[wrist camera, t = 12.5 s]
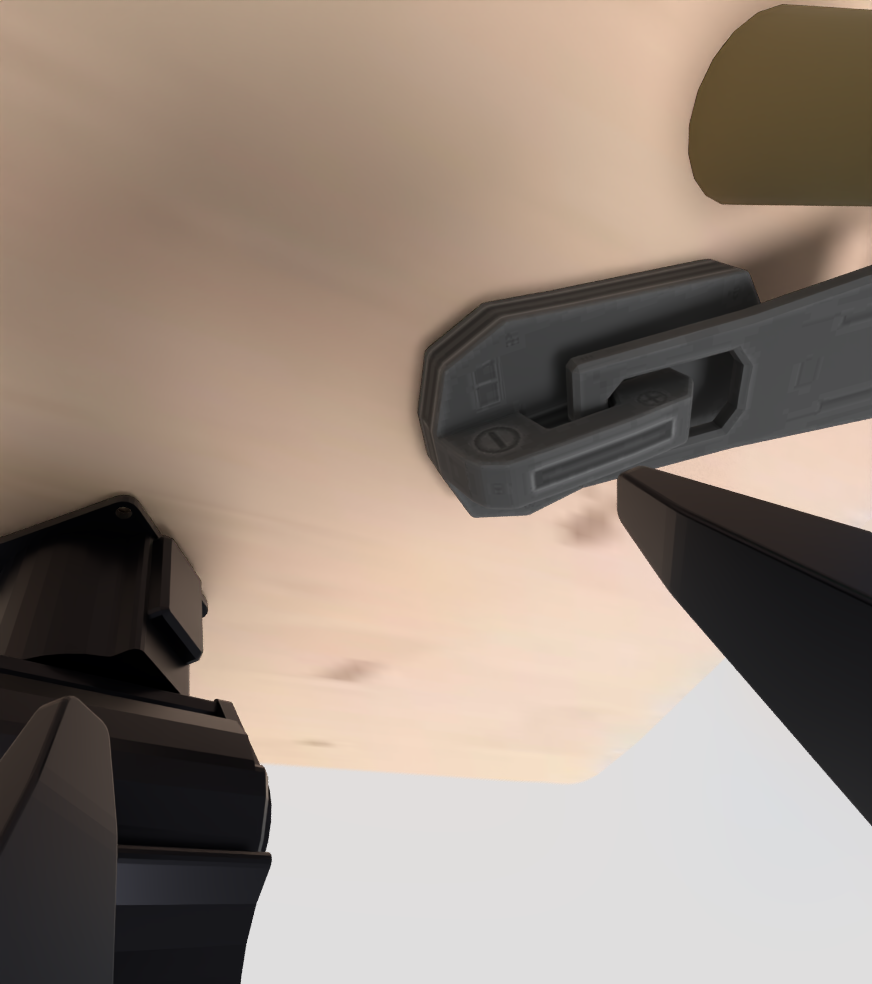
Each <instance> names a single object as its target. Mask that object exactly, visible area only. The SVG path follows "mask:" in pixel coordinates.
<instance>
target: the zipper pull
mask: <svg viewBox="0 0 872 984" xmlns="http://www.w3.org/2000/svg"><path fill="white" fill-rule="evenodd" d="M418 416H419V420H420V424H421V429H422V433H423V437H424V441H425V446H426V450H427V454H428V456H429V458H430V459H431V461H432V462H433V464H434V465H435V467H436V468H437V470H438V471H439V473H440V474H441V476H442V477H443V479H444V480H445V482H446V483H447V484H448V486H449V487H450V488H451V490H452V491H453V492H454V494H455V495H456V496H457V498H458V499H459V501H460V502H461V503H462V505H463V506H464V507H465V509H466V510H467V511H468V513H469V514H470V515H471V516H472V517H475V518H479V517H501V516H523V515H529V514H532V513H534V512H536V511H538V510H540V509H542V508H544V507H546V506H548V505H550V504H552V503H554V502H556V501H558V500H560V499H562V498H564V497H566V496H568V495H570V494H572V493H574V492H576V491H578V490H580V489H582V488H584V487H588V486H592V485H596V484H599V483H603V482H607V481H611V480H614V479H617V478H618V476H619V474H621V473H622V472H624V471H627V470H629V469H632V468H634V467H637V466H646V467H650V468H653V469H655V468H659V467H663V466H666V465H670V464H674V463H678V462H681V461H685V460H689V459H693V458H696V457H700V456H704V455H708V454H711V453H715V452H719V451H722V450H726V449H730V448H734V447H739V446H744V445H748V444H753V443H758V442H762V441H767V440H772V439H776V438H781V437H786V436H790V435H795V434H800V433H805V432H809V431H814V430H819V429H823V428H828V427H833V426H837V425H842V424H847V423H851V422H856V421H861V420H866V419H870V418H872V265H870V266H867V267H864V268H861V269H859V270H856V271H853V272H850V273H847V274H844V275H841V276H838V277H835V278H833V279H830V280H827V281H824V282H821V283H818V284H815V285H812V286H809V287H807V288H804V289H801V290H798V291H795V292H792V293H789V294H786V295H783V296H781V297H778V298H775V299H772V300H769V301H766V302H763V303H760V300H759V297H758V295H757V292H756V289H755V287H754V284H753V282H752V279H751V276H750V274H749V272H748V271H746V270H743V269H740V268H737V267H733V266H730V265H727V264H724V263H721V262H718V261H715V260H711V259H705V260H698V261H693V262H688V263H683V264H678V265H673V266H668V267H664V268H659V269H654V270H649V271H644V272H639V273H634V274H630V275H625V276H620V277H615V278H610V279H605V280H600V281H595V282H591V283H586V284H581V285H576V286H571V287H566V288H561V289H557V290H551V291H546V292H540V293H535V294H529V295H524V296H518V297H513V298H507V299H502V300H496V301H491V302H486V303H483V304H481V305H480V306H479V307H477V308H476V309H475V310H474V311H472V312H471V313H470V314H469V315H468V316H466V317H465V318H464V319H463V320H462V321H460V322H459V323H458V324H457V325H455V326H454V327H453V328H452V329H451V330H449V331H448V332H447V333H446V334H444V335H443V336H442V337H441V338H440V339H438V340H437V341H436V342H435V343H433V344H432V345H431V346H430V347H429V348H428V349H427V350H426V352H425V357H424V365H423V373H422V382H421V390H420V398H419V407H418Z"/></svg>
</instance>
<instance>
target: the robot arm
mask: <svg viewBox="0 0 872 984" xmlns="http://www.w3.org/2000/svg"><path fill="white" fill-rule="evenodd" d="M120 507H126V508H129V509H130V510H131V511H129V512H126V513H124V512H120V511H119V510H118V508H120ZM617 512H618V516H619V519H620V521H621V523H622V524H623V526H624V527H625V529H626V530H627V532H628V533H629V535H630V536H631V537H632V539H633V540H634V542H635V543H636V545H637V546H638V548H639V549H640V551H641V552H642V553H643V555H644V556H645V558H646V559H647V561H648V562H649V564H650V565H651V567H652V568H653V569H654V571H655V572H656V574H657V575H658V577H659V578H660V580H661V581H662V582H663V584H664V585H665V586H666V588H667V589H668V591H669V592H670V593H671V594H672V596H673V597H674V598H675V599H676V600H677V602H678V603H679V604H680V605H681V606H682V607H683V609H684V610H685V611H686V612H687V613H688V614H689V616H690V617H691V618H692V619H693V620H694V621H695V622H696V624H697V625H698V626H699V627H700V628H701V629H702V631H703V632H704V633H705V634H706V635H707V636H708V637H709V639H710V640H711V641H712V642H713V643H714V644H715V646H716V647H717V648H718V649H719V650H720V651H721V652H722V654H723V655H724V656H725V657H726V658H727V659H728V661H729V662H730V663H731V664H732V665H733V666H734V667H735V669H736V670H737V671H738V672H739V673H740V674H741V675H742V677H743V678H744V679H745V680H746V681H747V682H748V684H749V685H750V686H751V687H752V688H753V689H754V690H755V692H756V693H757V694H758V695H759V696H760V697H761V699H762V700H763V701H764V702H765V703H766V704H767V706H768V707H769V708H770V709H771V710H772V711H773V713H774V714H775V715H776V716H777V717H778V718H779V719H780V720H781V722H782V723H783V724H784V725H785V726H786V727H787V729H788V730H789V731H790V732H791V733H792V734H793V736H794V737H795V738H796V739H797V740H798V741H799V743H800V744H801V745H802V746H803V747H804V748H805V749H806V750H807V752H808V753H809V754H810V755H811V756H812V758H813V759H814V760H815V761H816V762H817V763H818V764H819V766H820V767H821V768H822V769H823V770H824V771H825V772H826V774H827V775H828V776H829V777H830V778H831V779H832V781H833V782H834V783H835V784H836V785H837V786H838V788H839V789H840V790H841V791H842V792H843V793H844V794H845V796H846V797H847V798H848V799H849V800H850V801H851V803H852V804H853V805H854V806H855V807H856V808H857V809H858V811H859V812H860V813H861V814H862V815H863V816H864V818H865V819H866V820H867V821H868V822H869V823H870V824H871V826H872V533H871V532H870V531H866V530H863V529H860V528H856V527H853V526H849V525H846V524H842V523H839V522H835V521H832V520H829V519H825V518H822V517H818V516H815V515H811V514H808V513H805V512H801V511H798V510H794V509H791V508H787V507H784V506H780V505H777V504H774V503H770V502H767V501H763V500H760V499H756V498H753V497H750V496H746V495H743V494H739V493H736V492H732V491H729V490H725V489H722V488H719V487H715V486H712V485H708V484H705V483H701V482H698V481H695V480H691V479H688V478H684V477H681V476H677V475H674V474H670V473H667V472H664V471H660V470H657V469H653V468H650V467H646V466H637V467H634V468H632V469H629V470H627V471H624V472H622V473H621V474H619V476H618V478H617ZM207 612H208V603H207V600H206V599H205V597H204V596H203V594H202V592H201V580H200V578H199V577H198V575H197V574H196V572H195V571H194V569H193V568H192V566H191V565H190V563H189V562H188V560H187V559H186V557H185V556H184V555H183V553H182V552H181V550H180V549H179V547H178V546H177V544H176V543H175V541H174V540H173V539H172V538H170V537H167V536H162V535H161V533H160V532H159V530H158V529H157V528H156V526H155V525H154V523H153V522H152V520H151V519H150V517H149V516H148V514H147V513H146V512H145V510H144V509H143V507H142V506H141V504H140V503H139V501H137V500H136V499H135V498H134V497H131V496H128V495H121V496H116V497H113V498H111V499H108V500H105V501H102V502H99V503H97V504H94V505H91V506H88V507H85V508H83V509H80V510H77V511H74V512H71V513H69V514H66V515H63V516H60V517H57V518H55V519H52V520H49V521H46V522H43V523H41V524H38V525H35V526H32V527H29V528H27V529H24V530H21V531H18V532H15V533H13V534H10V535H7V536H4V537H1V538H0V984H241V974H242V969H243V962H244V956H245V949H246V943H247V939H248V935H249V931H250V927H251V923H252V919H253V915H254V911H255V907H256V903H257V901H258V898H259V896H260V893H261V890H262V888H263V885H264V882H265V880H266V877H267V874H268V872H269V869H270V866H271V862H272V857H271V854H270V853H269V852H265V851H266V847H267V843H268V838H269V831H270V824H271V798H270V790H269V786H268V776H267V773H266V770H265V768H264V767H263V766H262V765H260V764H259V761H258V759H257V757H256V755H255V753H254V750H253V748H252V746H251V744H250V741H249V739H248V735H247V734H246V732H245V730H244V728H243V726H242V724H241V722H240V719H239V717H238V715H237V713H236V710H235V708H234V706H233V704H232V702H229V701H224V700H220V699H215V700H214V701H209V700H205V699H200V698H196V697H191V696H189V664H191V663H193V662H196V661H198V660H200V658H201V656H202V653H203V631H202V618H203V617H205V615H206V614H207Z"/></svg>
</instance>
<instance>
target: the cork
mask: <svg viewBox="0 0 872 984" xmlns="http://www.w3.org/2000/svg"><path fill="white" fill-rule="evenodd" d="M689 158H690V162H691V166H692V171H693V175H694V179H695V180H696V182H697V183H698V185H699V186H700V188H701V189H702V191H703V192H704V193H705V195H706V196H708V197H710V198H711V199H713V200H715V201H717V202H719V203H720V204H732V205H805V206H872V10H865V9H850V8H834V7H818V6H803V5H787V4H782V5H779V6H776V7H773V8H770V9H767V10H764V11H761V12H758V13H757V14H756V15H755V16H753V17H752V18H751V19H749V20H748V21H747V22H746V23H744V24H743V25H742V26H741V27H739V28H738V29H737V30H736V31H734V33H733V34H732V35H731V37H730V38H729V39H728V40H727V42H726V43H725V44H724V46H723V47H722V48H721V50H720V51H719V52H718V54H717V55H716V56H715V57H714V59H713V61H712V63H711V65H710V67H709V69H708V71H707V73H706V75H705V78H704V80H703V82H702V84H701V86H700V88H699V90H698V93H697V97H696V101H695V105H694V109H693V113H692V117H691V120H690V128H689Z"/></svg>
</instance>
